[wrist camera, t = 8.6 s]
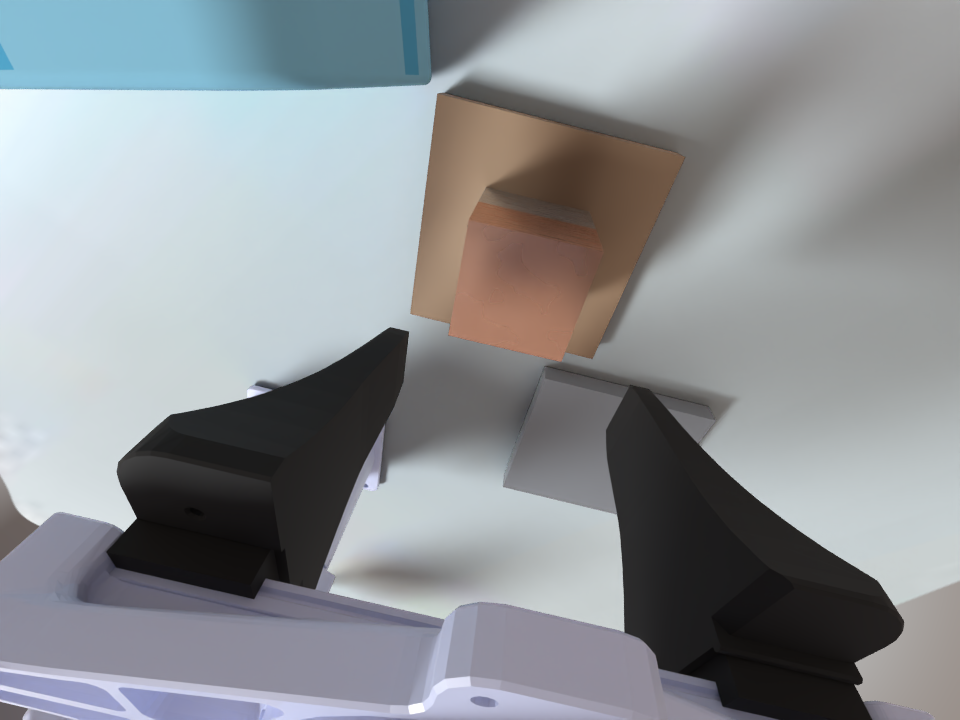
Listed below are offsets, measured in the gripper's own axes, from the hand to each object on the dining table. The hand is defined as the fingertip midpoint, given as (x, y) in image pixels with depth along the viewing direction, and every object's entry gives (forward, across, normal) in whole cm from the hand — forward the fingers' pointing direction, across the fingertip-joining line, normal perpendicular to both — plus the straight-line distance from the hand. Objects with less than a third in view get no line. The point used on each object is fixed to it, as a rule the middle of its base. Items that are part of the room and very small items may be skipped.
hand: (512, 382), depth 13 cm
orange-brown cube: (+8, 0, -2) cm, 8 cm away
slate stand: (+9, -8, +10) cm, 16 cm away
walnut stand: (+9, 0, -2) cm, 9 cm away
